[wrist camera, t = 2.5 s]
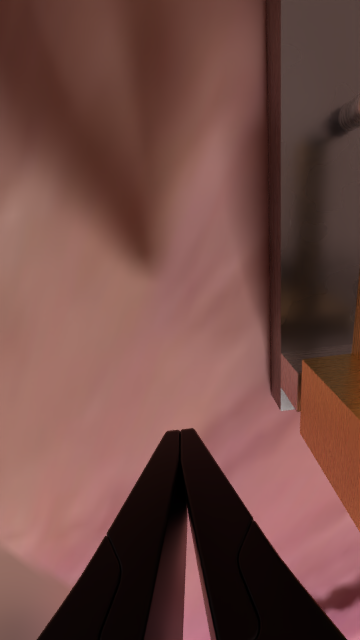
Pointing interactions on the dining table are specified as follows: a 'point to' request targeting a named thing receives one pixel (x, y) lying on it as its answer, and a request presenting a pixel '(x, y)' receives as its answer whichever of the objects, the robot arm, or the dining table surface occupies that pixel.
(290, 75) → the bolt plate dividers
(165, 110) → the dining table surface
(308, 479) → the dining table surface
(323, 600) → the dining table surface
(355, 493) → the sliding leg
